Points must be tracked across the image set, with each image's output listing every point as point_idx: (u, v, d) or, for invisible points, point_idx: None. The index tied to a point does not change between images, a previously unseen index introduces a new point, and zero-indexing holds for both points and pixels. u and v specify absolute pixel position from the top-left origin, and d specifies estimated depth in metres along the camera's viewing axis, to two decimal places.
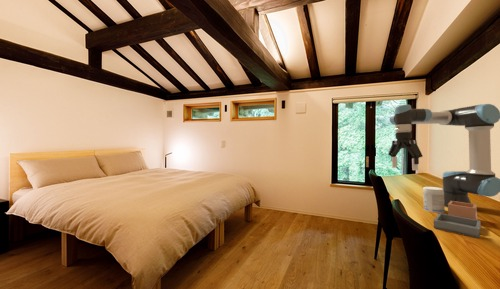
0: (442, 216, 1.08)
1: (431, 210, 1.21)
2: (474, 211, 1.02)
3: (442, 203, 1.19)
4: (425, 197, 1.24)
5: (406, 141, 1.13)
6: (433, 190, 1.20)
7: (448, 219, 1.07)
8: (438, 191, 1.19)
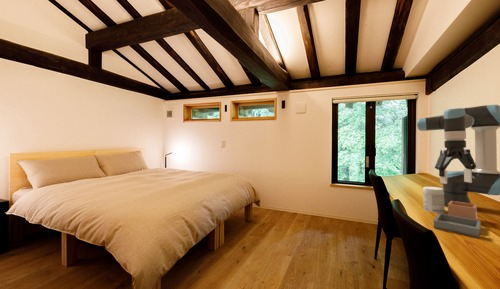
0: (442, 216, 1.08)
1: (431, 210, 1.21)
2: (474, 211, 1.02)
3: (442, 203, 1.19)
4: (425, 197, 1.24)
5: None
6: (433, 190, 1.20)
7: (448, 219, 1.07)
8: (438, 191, 1.19)
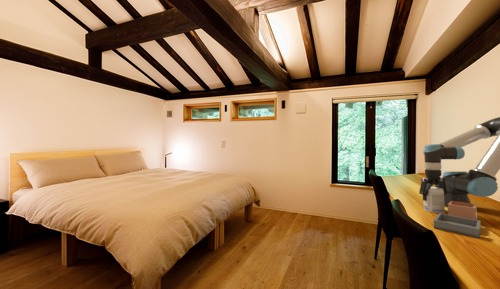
0: (442, 216, 1.08)
1: (431, 210, 1.21)
2: (474, 211, 1.02)
3: (442, 203, 1.19)
4: None
5: None
6: (433, 190, 1.20)
7: (448, 219, 1.07)
8: (438, 191, 1.19)
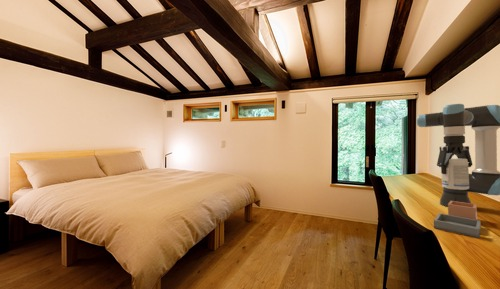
0: (442, 216, 1.08)
1: (452, 185, 0.98)
2: (474, 211, 1.02)
3: (466, 176, 0.96)
4: None
5: None
6: (455, 160, 0.97)
7: (448, 219, 1.07)
8: (461, 161, 0.96)
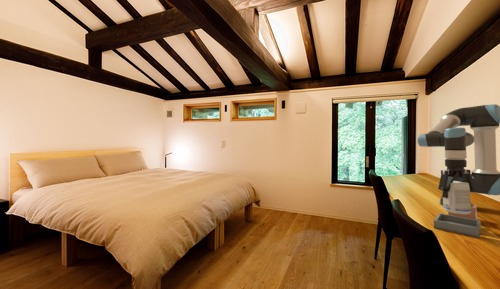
0: (442, 216, 1.08)
1: (454, 210, 0.97)
2: (474, 211, 1.02)
3: (468, 201, 0.95)
4: None
5: None
6: (456, 184, 0.96)
7: (448, 219, 1.07)
8: (463, 186, 0.95)
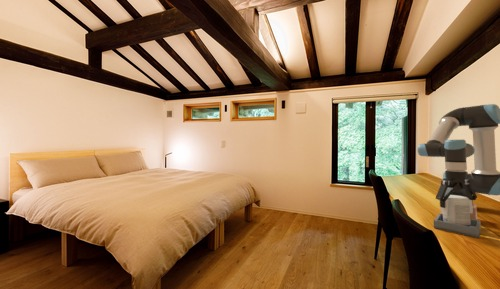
0: (442, 216, 1.08)
1: None
2: (474, 211, 1.02)
3: (467, 216, 0.95)
4: None
5: None
6: (456, 200, 0.96)
7: None
8: (463, 201, 0.95)
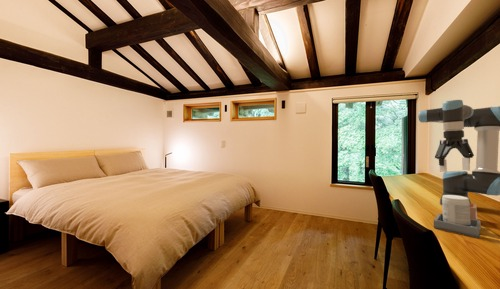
0: (442, 216, 1.08)
1: None
2: (474, 211, 1.02)
3: (467, 216, 0.95)
4: (445, 208, 1.00)
5: None
6: (456, 200, 0.96)
7: None
8: (463, 201, 0.95)
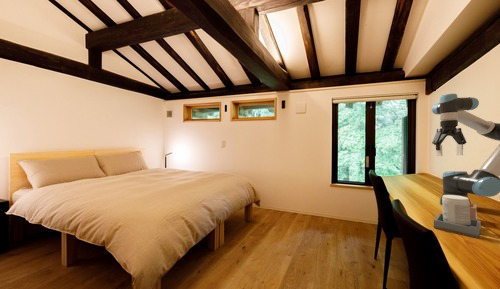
0: (442, 216, 1.08)
1: None
2: (474, 211, 1.02)
3: (467, 216, 0.95)
4: (445, 208, 1.00)
5: None
6: (456, 200, 0.96)
7: None
8: (463, 201, 0.95)
